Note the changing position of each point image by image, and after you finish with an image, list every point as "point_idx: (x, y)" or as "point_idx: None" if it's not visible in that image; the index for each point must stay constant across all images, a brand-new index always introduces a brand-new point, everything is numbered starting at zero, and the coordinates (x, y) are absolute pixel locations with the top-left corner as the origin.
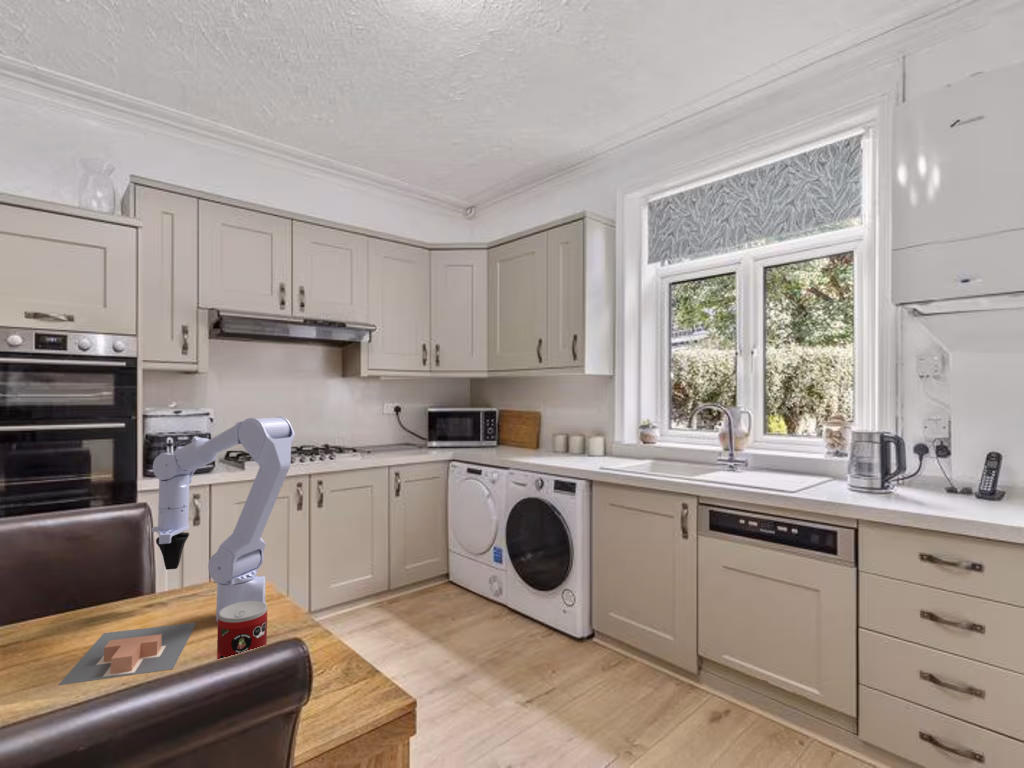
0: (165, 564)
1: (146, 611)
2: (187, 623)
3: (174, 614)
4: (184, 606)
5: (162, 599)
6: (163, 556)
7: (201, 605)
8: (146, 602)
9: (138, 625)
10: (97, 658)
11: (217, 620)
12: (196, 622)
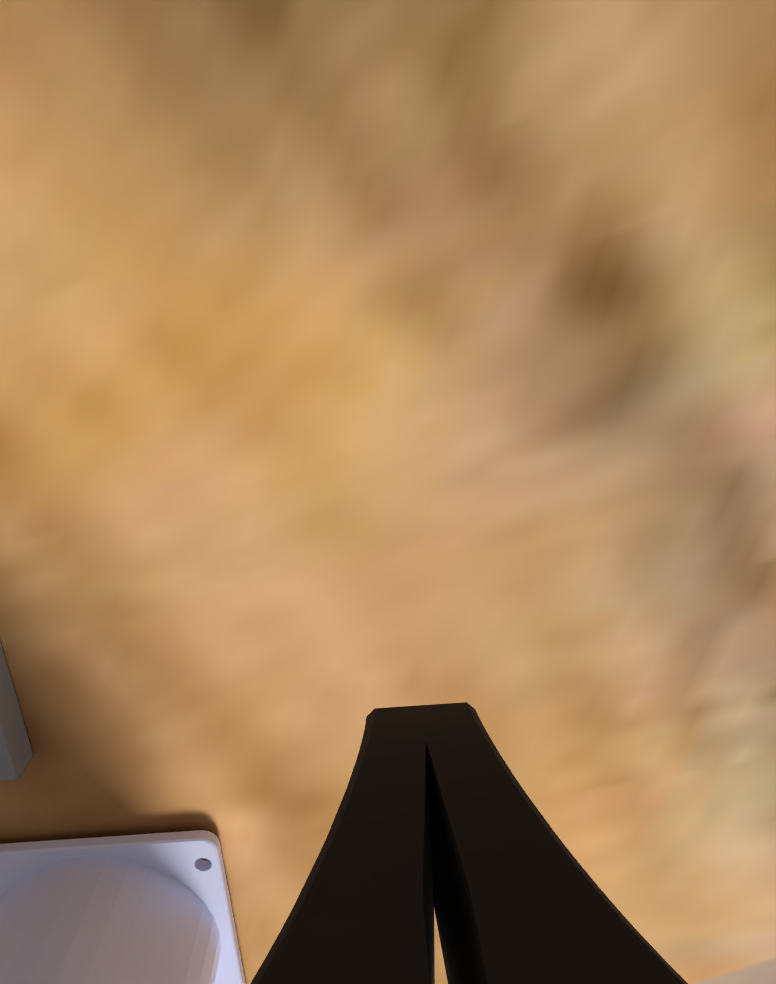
0: (357, 767)
1: (451, 305)
2: (2, 730)
3: (318, 552)
4: (482, 576)
5: (735, 349)
6: (298, 900)
7: (465, 685)
8: (708, 222)
9: (124, 349)
10: None
11: (20, 890)
12: (14, 778)
